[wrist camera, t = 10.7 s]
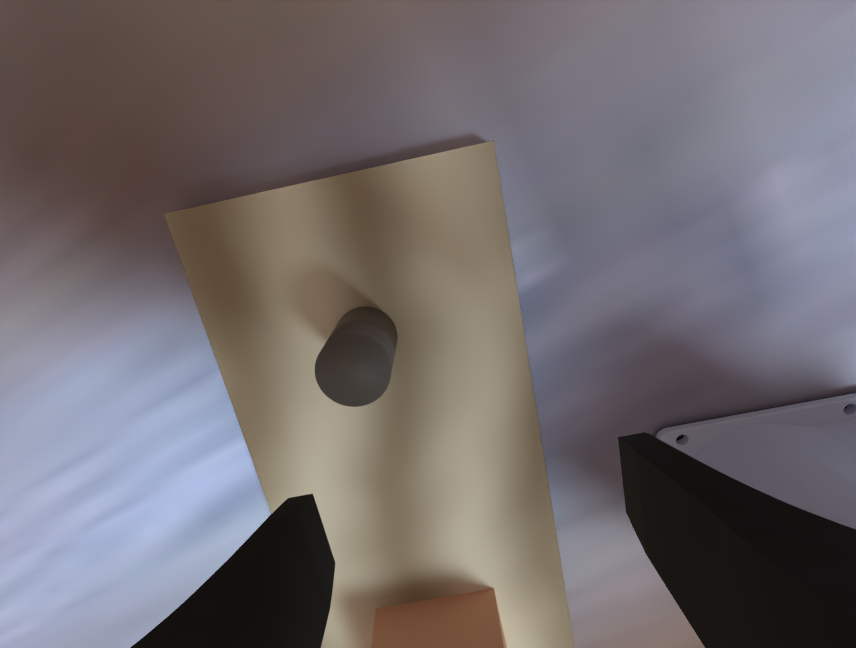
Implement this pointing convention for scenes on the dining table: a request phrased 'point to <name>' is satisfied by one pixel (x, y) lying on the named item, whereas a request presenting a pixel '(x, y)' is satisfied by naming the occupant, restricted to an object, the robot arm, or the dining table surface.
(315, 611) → the robot arm
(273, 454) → the board
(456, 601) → the collar
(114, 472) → the dining table surface
